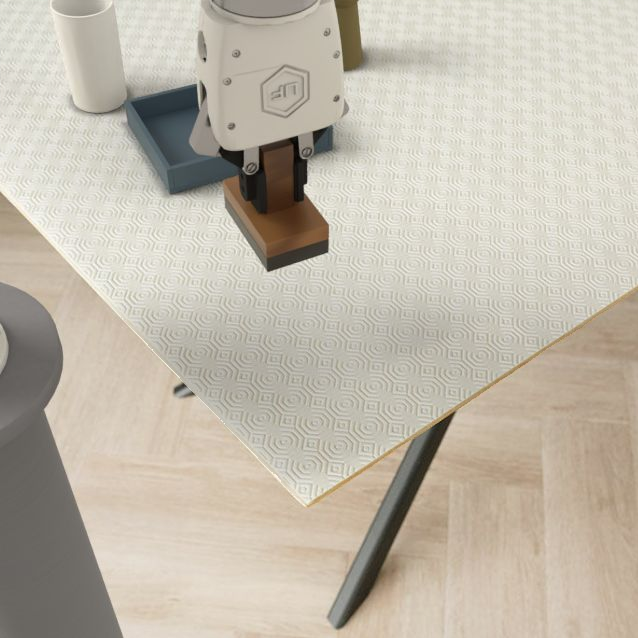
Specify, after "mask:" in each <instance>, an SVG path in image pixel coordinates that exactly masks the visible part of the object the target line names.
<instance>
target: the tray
mask: <svg viewBox="0 0 638 638" xmlns="http://www.w3.org/2000/svg"><path fill="white" fill-rule="evenodd" d="M123 105H124V110H125V115H126V121H127V126H129V128H130V130H131V132H132V134H133V135H134V137H135V138H136V140H137V141H138V144H139V145H140V146H141V148H142V150H143V152H144V153H145V154H146V157H147V158H148V160H149V162H150V163H151V165H152V167H153V168H154V171H155V172H156V173H157V175H158V177H159V179H160V180H161V182H162V184H163V185H164V187H165V188H166V190H167V192H168V193H169V194H170V195H172V194H176V193H180V192H184V191H186V190H187V191H188V190H191V189H195V188H198V187H202V186H206V185H210V184H212V183H216V182H220V181H223V180H225V179H228V178H232V177H235V176H239V175H238V167H237V166H235V165H234V164H232V163H230V162H228V161H227V160H225V159H223V158H222V157H219V156H217V157H213V156H206V155H199V154H197V153H196V152H195V151H194V149H193V148H192V146H191V145H190V143H189V139H190V136H191V133H192V130H193V128H194V125H195V122H196V119H197V117H198V114H199V111H200V109H199V103H198V92H197V82H196V83H193V84H189V85H184V86H180V87H176V88H172V89H166V90H164V91H159V92H154V93H150V94H147V95H142V96H141V95H140V96H138V97H134V98H129V99H126V100H125V101H124V104H123ZM229 126H230V125H229ZM333 145H334V124H332V125H330V126H328V128H327V130H326V132H325V133H324V134H323V135H322V136H321V138H320V139H319V140H318V141H317V142H316V144H315V145H314V146H313V147H314V152H313V155H312V156H314V155H317V154H322V153H325V152H328V151H332V150H333V149H334V146H333Z"/></svg>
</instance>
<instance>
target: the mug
mask: <svg viewBox="0 0 638 638" xmlns="http://www.w3.org/2000/svg"><path fill="white" fill-rule="evenodd" d="M49 7H50V11H51V17H52V20H53V26H54V30H55V33H56V37H57V41H58V45H59V50H60V54H61V57H62V62H63V66H64V69H65V75H66V78H67V83H68V86H69V90H70V93H71V97H72V100H73V103H74V105H75V107H76V108H78V109H79V110H81V111H84V112H86V113H93V114H100V113H101V114H102V113H108V112H111V111H115V110H116V109H118V108H120V107H122V106H123V105H124V101H125V100H128V99H127V98H128V91H127V84H126V83H127V82H126V77H125V76H126V75H125V68H124V62H123V53H122V47H121V41H120V34H119V27H118V19H117V13H116V8H115V3H114V0H50V2H49Z"/></svg>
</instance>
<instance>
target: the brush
mask: <svg viewBox="0 0 638 638" xmlns="http://www.w3.org/2000/svg"><path fill="white" fill-rule="evenodd" d="M259 162H260V166H261V168H262V169H263V170H264V172H265V173H266V185H267V205H268V210H266V212H265V213H261V214H259V213H258V212H257V210H256V209H255V207H254V206H253V205H252V203H251V202H250V201H247V202H246V201H245V200H244V198H243V197H242V195H241V192H240V188H239V175H238V176H235V177H231V178H227V179H224V180H222V189H223V198H224V208H225V210H226V211H227V213H228V214H229V216H230V217H231V218H232V220H233V222H234V224H235V225H236V227H237V228H238V229H239V231H240V233H241V234H242V235H243V237H244V238H245V240H246V241H247V243H248V244H249V247H250V248H251V249H252V251H253V252H254V254H255V255H256V257H257V258H258V260H259V261H260V263H261V265H262V266H263V267H264V269H265V270H266V272H267V273H270V272H273V271H276V270H279V269H282V268H285V267H288V266H291V265H294V264H298V263H301V262H304V261H307V260H310V259H313V258H317V257H319V256H323V255H325V254H328V253H329V249H330V245H329V244H330V242H329V241H330V240H329V239H330V224H329V222H327V220H326V218H325V217H324V216H323V215H322V214H321V212H320V211H319V210H318V209H317V207H316V206H315V204H314V203H313V201H312V200H311V199H310V198H309V196H308V195H307V194H306V192H304V201H301V202H296V201H294V156H293V144H292V143H291V141H290V140H289V139H284V140H280V141H277V142H273V143H269V144H265V145H262V146H259Z"/></svg>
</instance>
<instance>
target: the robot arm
mask: <svg viewBox="0 0 638 638" xmlns="http://www.w3.org/2000/svg"><path fill="white" fill-rule="evenodd" d="M195 52H196V53H195V54H196V55H195V56H196V59H195V62H196V83H197V92H198V103H199V109H200V111H199V114H198V117H197V119H196V122H195V125H194V128H193V130H192V133H191V136H190V139H189V143H190V145H191V146H192V148H193V149H194V151H195V152H196V153H197V154H199V155H206V156H213V157H217V156H219V157H222V158H223V159H225V160H227V161H228V162H230V163H232V164H234V165H235V166H237V167H238V176H239V188H240V192H241V195H242V197H243V198H244V200H245V201H246V202H247V201H250V202H251V203H252V205H253V206H254V207H255V209H256V210H257V212H258V213H259V214H261V213H265V212H266V210H268V205H267V185H266V173H265V172H264V170H263V169H262V168H261V166H260V162H259V146H262V145H265V144H269V143H273V142H277V141H280V140H284V139H289V140H290V141H291V143H292V144H293V156H294V201H296V202H301V201H304V193H305V185H308V160H309V159H310V158H311V157H312V156H314V155H313V152H314V147H313V146H314V145H315V144H316V142H317V141H318V140H319V139H320V138H321V136H322V135H323V134H324V133H325V132H326V130H327V128H328V126H330V125H334V124H335V123H336V122H338V121H339V120H340V119H342V118H343V117H345V116H346V115H347V114H348V113H349V111H350V106H349V104H348V102H347V101H346V98H345V76H344V75H345V73H344V71H343V57H342V47H341V39H340V32H339V25H338V18H337V13H336V8H335V3H334V0H200V5H199V12H198V21H197V31H196V51H195ZM229 125H230V126H229ZM8 352H9V344H8V341H7V337H6V334H5V332H4V329H3V327H2V325H1V324H0V374H1V372H2V370H3V368H4V367H5V365H6V361H7V358H8Z"/></svg>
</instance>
